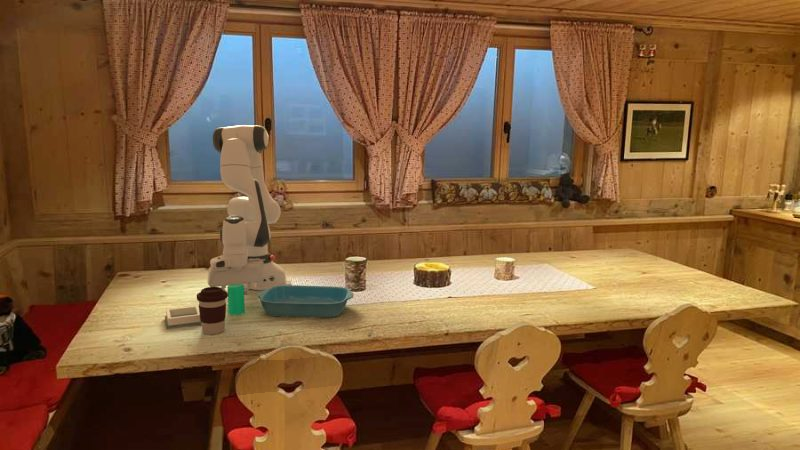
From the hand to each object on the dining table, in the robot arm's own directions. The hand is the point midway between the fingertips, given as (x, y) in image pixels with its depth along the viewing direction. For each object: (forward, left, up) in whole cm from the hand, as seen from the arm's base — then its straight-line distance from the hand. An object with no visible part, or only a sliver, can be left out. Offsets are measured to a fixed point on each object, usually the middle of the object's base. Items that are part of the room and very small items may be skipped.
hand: (236, 295), depth 213 cm
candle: (0, 0, -7) cm, 7 cm away
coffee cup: (+11, +17, -7) cm, 21 cm away
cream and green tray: (+18, +3, -7) cm, 19 cm away
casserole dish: (-25, +7, -7) cm, 27 cm away
